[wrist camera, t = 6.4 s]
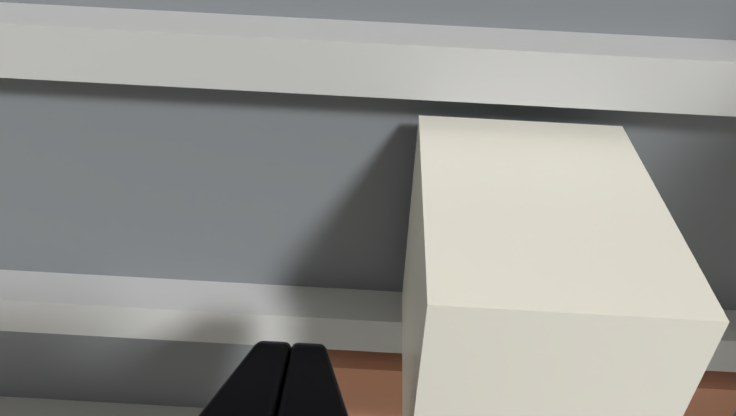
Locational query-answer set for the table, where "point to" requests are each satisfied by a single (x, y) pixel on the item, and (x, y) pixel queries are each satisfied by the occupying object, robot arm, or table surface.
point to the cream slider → (546, 277)
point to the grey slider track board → (303, 175)
